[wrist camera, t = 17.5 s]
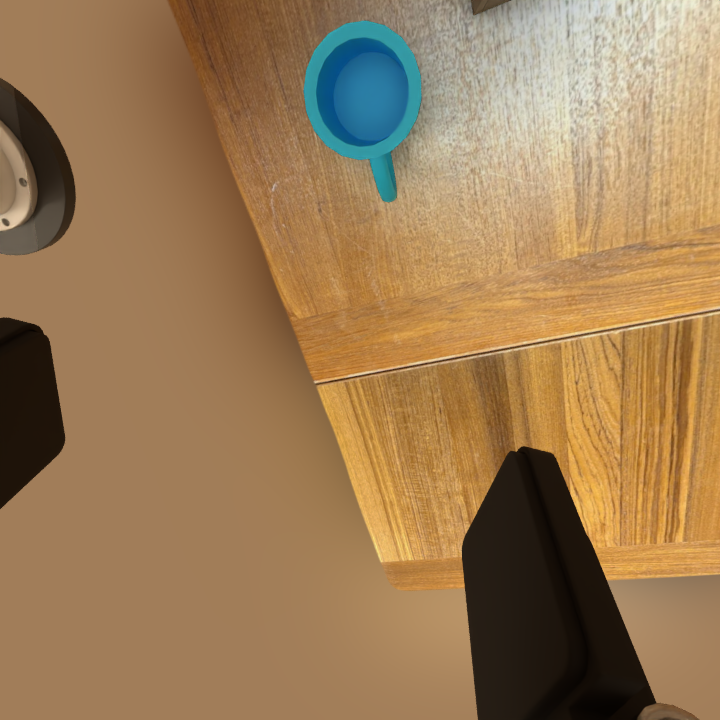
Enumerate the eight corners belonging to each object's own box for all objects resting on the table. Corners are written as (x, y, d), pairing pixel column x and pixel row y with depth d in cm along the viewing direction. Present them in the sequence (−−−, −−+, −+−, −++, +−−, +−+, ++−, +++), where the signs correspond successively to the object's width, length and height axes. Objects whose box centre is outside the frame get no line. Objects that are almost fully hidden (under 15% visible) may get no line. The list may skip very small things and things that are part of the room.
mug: (313, 58, 36) (287, 44, 29) (410, 25, 34) (408, 1, 27) (351, 205, 42) (337, 223, 34) (437, 183, 40) (441, 197, 33)
